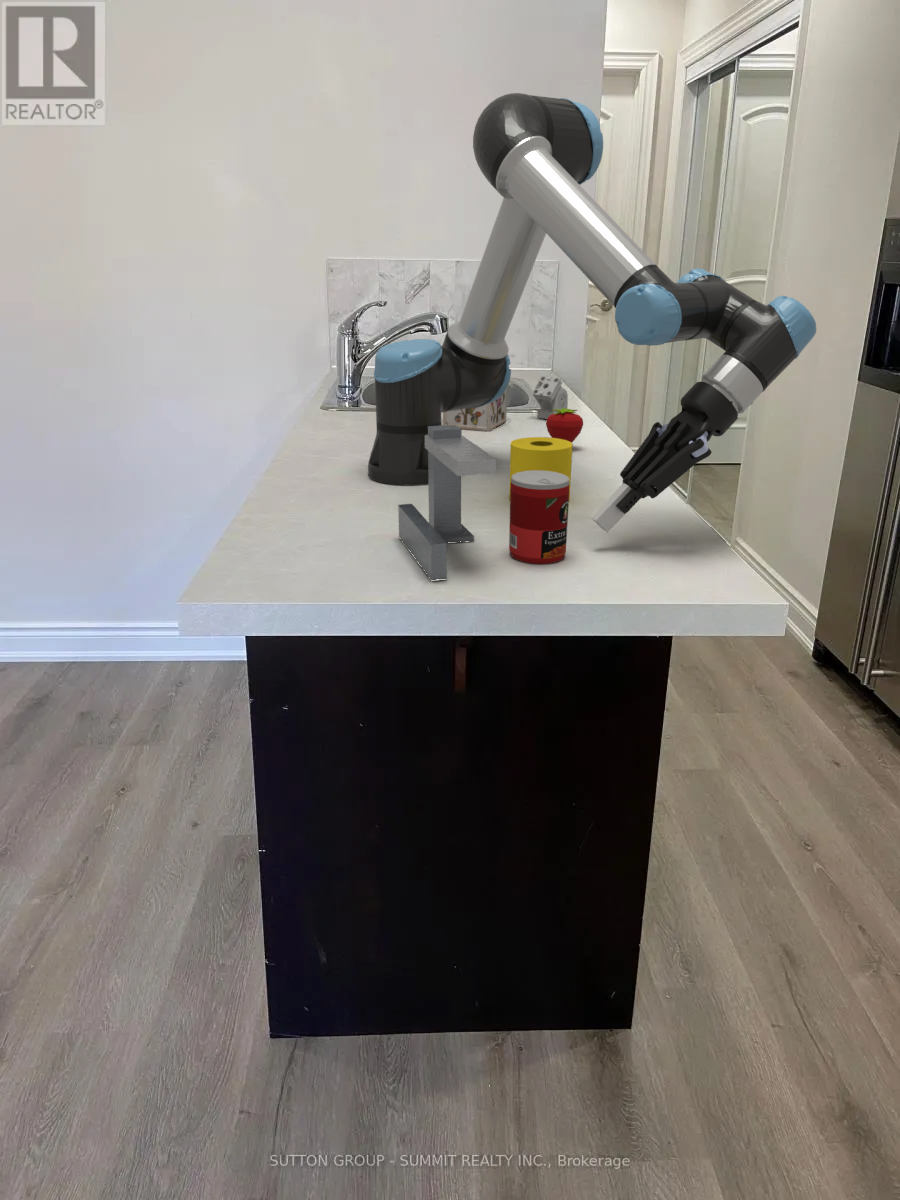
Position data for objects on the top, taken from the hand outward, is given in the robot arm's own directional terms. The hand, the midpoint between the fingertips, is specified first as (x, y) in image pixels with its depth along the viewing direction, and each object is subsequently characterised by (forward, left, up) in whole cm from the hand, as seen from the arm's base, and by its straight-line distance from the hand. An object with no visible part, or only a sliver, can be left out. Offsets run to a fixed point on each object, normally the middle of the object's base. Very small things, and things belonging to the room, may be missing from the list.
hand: (599, 525), depth 125 cm
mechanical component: (-25, +92, -4) cm, 95 cm away
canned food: (-8, -5, -4) cm, 10 cm away
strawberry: (-16, +61, -4) cm, 63 cm away
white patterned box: (-40, +80, -4) cm, 89 cm away
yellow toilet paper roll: (-13, +23, -4) cm, 26 cm away
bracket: (-20, -8, -4) cm, 21 cm away
